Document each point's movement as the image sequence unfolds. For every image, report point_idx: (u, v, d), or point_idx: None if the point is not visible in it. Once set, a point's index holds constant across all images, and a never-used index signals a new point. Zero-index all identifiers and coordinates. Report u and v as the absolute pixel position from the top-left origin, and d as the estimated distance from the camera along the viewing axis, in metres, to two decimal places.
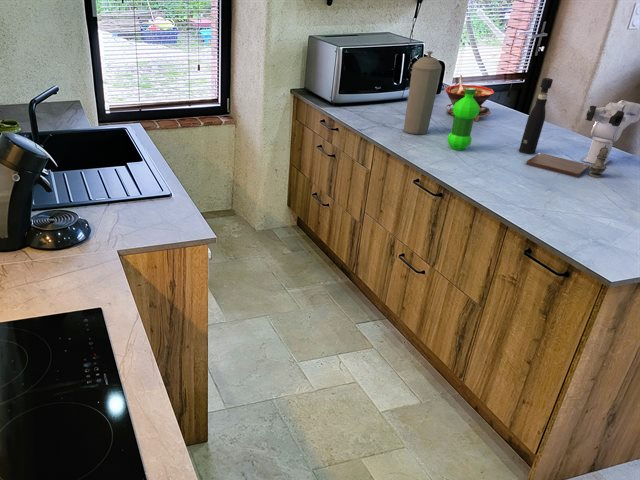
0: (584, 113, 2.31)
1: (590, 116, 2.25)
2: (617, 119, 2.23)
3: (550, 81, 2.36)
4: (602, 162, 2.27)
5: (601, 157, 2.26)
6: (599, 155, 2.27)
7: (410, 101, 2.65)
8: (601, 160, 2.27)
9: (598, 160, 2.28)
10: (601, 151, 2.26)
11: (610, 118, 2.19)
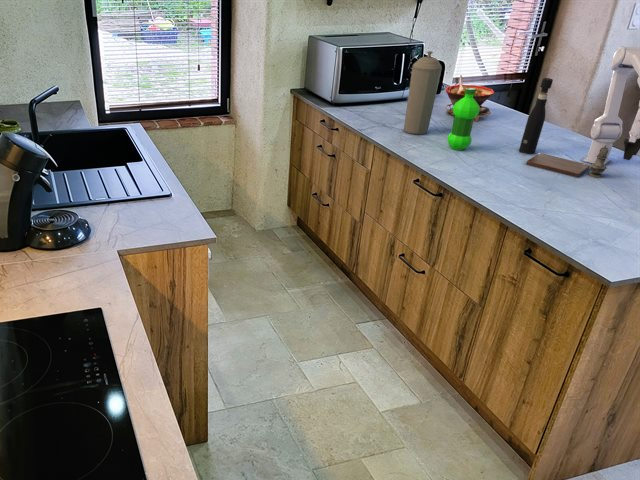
0: (629, 141, 2.13)
1: None
2: None
3: (550, 81, 2.36)
4: (602, 162, 2.27)
5: (601, 157, 2.26)
6: (599, 155, 2.27)
7: (410, 101, 2.65)
8: (601, 160, 2.27)
9: (598, 160, 2.28)
10: (601, 151, 2.26)
11: None
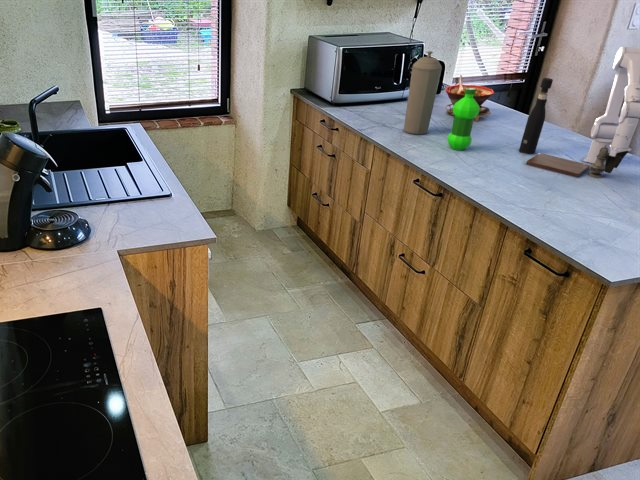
0: (610, 155, 2.19)
1: None
2: None
3: (550, 81, 2.36)
4: (602, 162, 2.27)
5: (601, 157, 2.26)
6: (599, 155, 2.27)
7: (410, 101, 2.65)
8: (601, 160, 2.27)
9: (598, 160, 2.28)
10: (601, 151, 2.26)
11: (615, 167, 2.29)
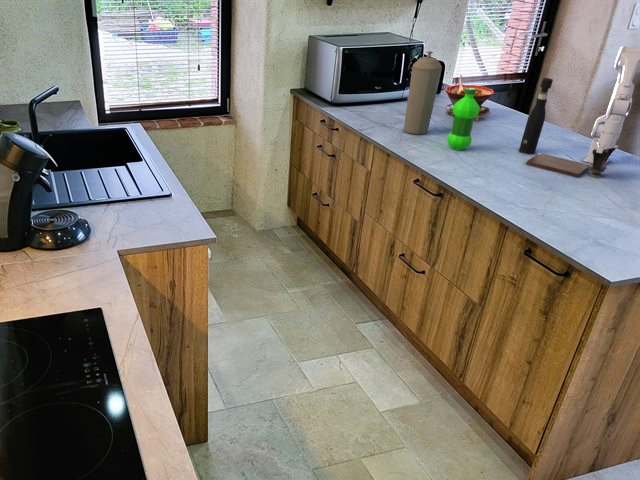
0: (597, 152, 2.22)
1: None
2: None
3: (550, 81, 2.36)
4: None
5: None
6: None
7: (410, 101, 2.65)
8: None
9: None
10: None
11: None
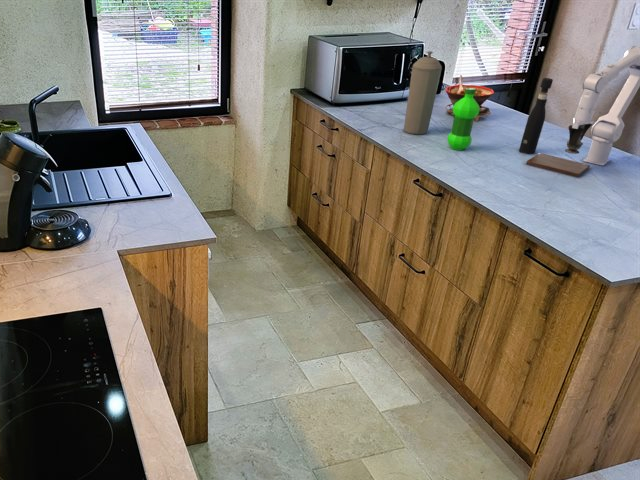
0: (572, 128, 2.24)
1: None
2: None
3: (550, 81, 2.36)
4: None
5: None
6: None
7: (410, 101, 2.65)
8: None
9: None
10: None
11: None
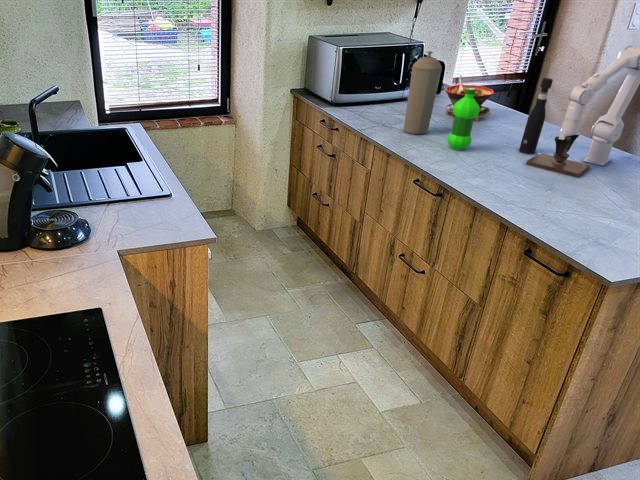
0: (559, 138, 2.28)
1: None
2: None
3: (550, 81, 2.36)
4: (564, 150, 2.34)
5: None
6: None
7: (410, 101, 2.65)
8: None
9: None
10: None
11: None
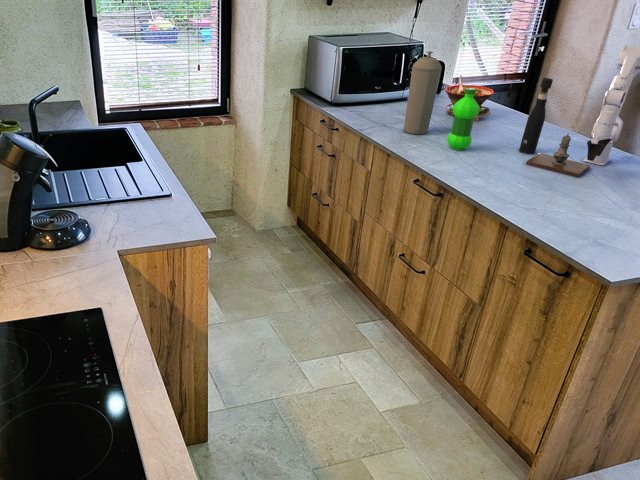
0: (592, 143, 2.21)
1: None
2: None
3: (550, 81, 2.36)
4: (564, 150, 2.34)
5: (564, 145, 2.33)
6: (562, 143, 2.34)
7: (410, 101, 2.65)
8: (564, 148, 2.34)
9: (561, 148, 2.34)
10: (563, 139, 2.32)
11: (598, 156, 2.31)
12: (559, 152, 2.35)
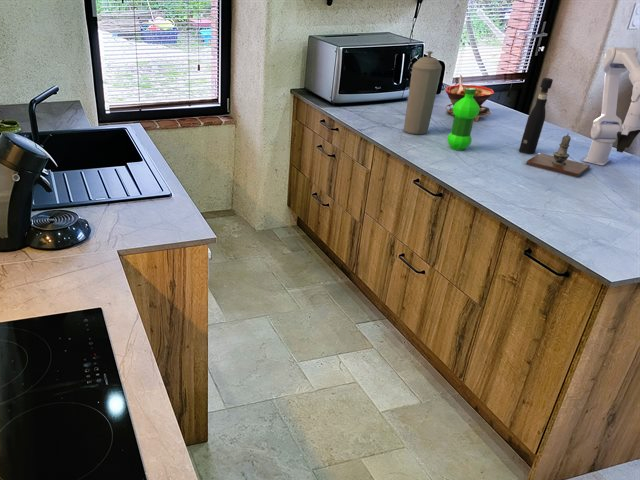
0: (622, 134, 2.18)
1: None
2: None
3: (550, 81, 2.36)
4: (564, 150, 2.34)
5: (564, 145, 2.33)
6: (562, 143, 2.34)
7: (410, 101, 2.65)
8: (564, 148, 2.34)
9: (561, 148, 2.34)
10: (563, 139, 2.32)
11: (627, 147, 2.28)
12: (559, 152, 2.35)
